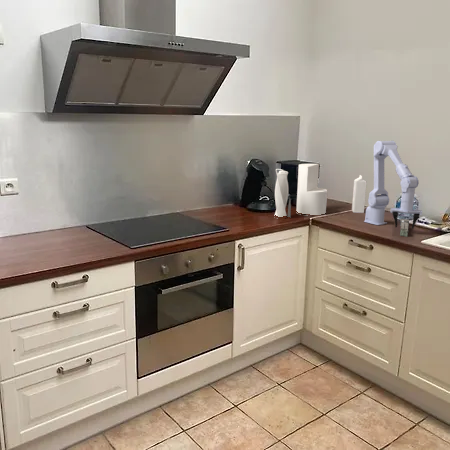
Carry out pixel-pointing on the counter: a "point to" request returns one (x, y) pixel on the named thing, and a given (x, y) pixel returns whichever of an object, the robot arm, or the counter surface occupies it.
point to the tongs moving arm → (402, 228)
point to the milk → (359, 195)
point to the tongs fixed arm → (405, 226)
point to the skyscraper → (282, 194)
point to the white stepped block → (310, 191)
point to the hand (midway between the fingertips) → (404, 227)
